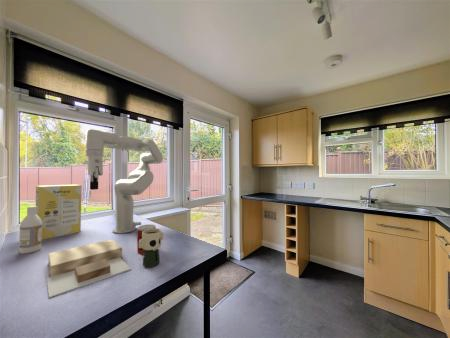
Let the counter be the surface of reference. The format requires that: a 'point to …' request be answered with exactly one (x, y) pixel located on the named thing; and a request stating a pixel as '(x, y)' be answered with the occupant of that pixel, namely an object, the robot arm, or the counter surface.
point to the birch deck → (82, 256)
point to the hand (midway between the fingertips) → (94, 189)
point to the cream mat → (69, 281)
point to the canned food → (139, 236)
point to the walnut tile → (92, 270)
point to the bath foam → (30, 232)
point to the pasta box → (59, 209)
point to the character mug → (151, 246)
